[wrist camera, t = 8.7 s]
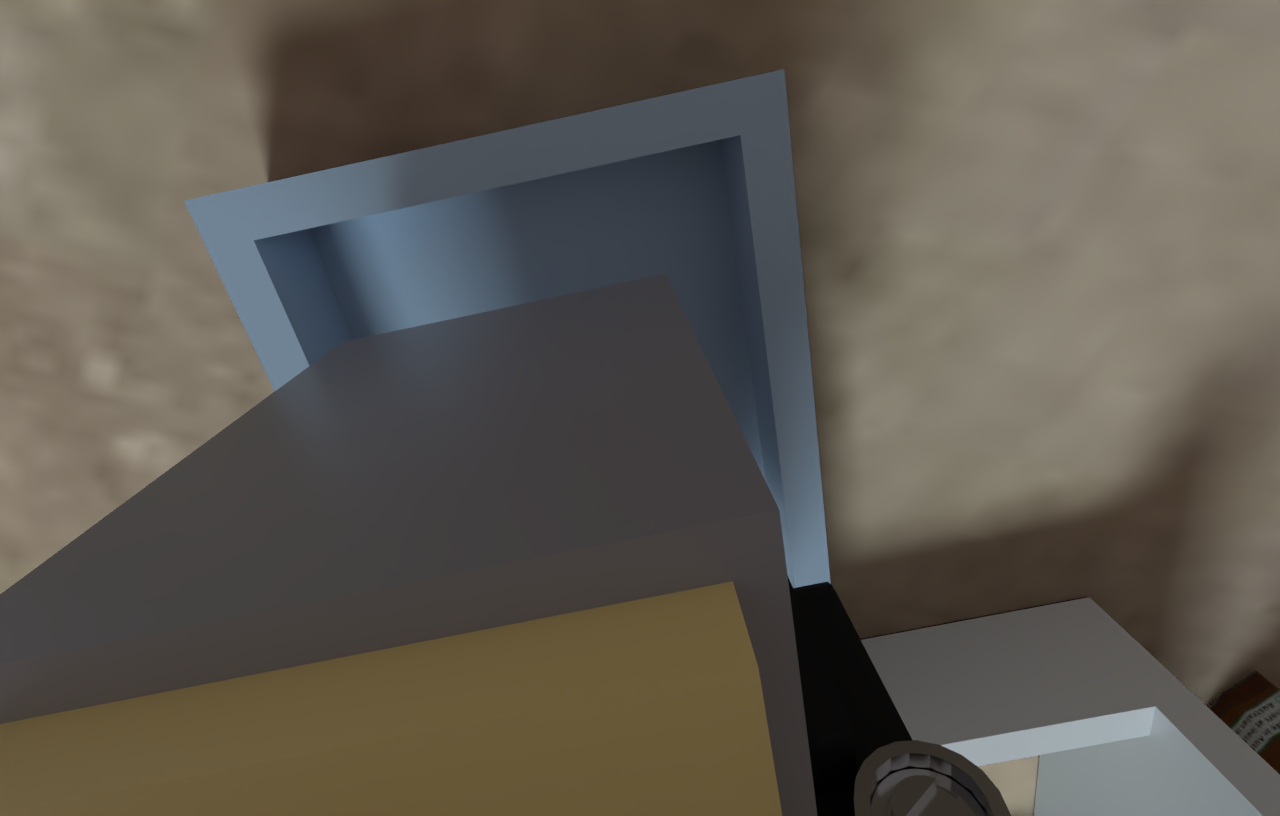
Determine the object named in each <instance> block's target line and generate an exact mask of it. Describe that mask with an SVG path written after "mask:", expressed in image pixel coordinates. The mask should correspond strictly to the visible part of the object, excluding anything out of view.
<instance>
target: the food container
mask: <svg viewBox="0 0 1280 816" xmlns="http://www.w3.org/2000/svg"><path fill="white" fill-rule="evenodd" d="M1209 709H1210V710H1211V711H1212V712H1213V713H1214V714H1215V715H1216V716H1218V717H1219V718H1220V719H1221V720H1222V721H1223V722H1224V723H1225V724H1226V725H1227V726H1228V727H1229V728H1230V729H1231V730H1233V731H1234V732H1235V733H1236V734H1237V735H1238V736H1239V737H1240V738H1241V739H1242V740H1243V741H1244V742H1245V743H1247V744H1248V745H1249V746H1250V747H1251V748H1252V749H1253V750H1254V751H1255V752H1256V753H1257V754H1258V755H1259V756H1260V757H1262V758H1263V759H1264V760H1265V761H1266V762H1267V763H1268V764H1269V765H1270V766H1271V767H1272V768H1273V769H1274V770H1275V771H1277V772H1278V773H1279V774H1280V689H1278V688H1277V687H1276V686H1275V685H1273V684H1272V683H1271V682H1270V681H1268V680H1267V679H1266V678H1265V677H1263V676H1262V675H1261V674H1260V673H1258V672H1257V671H1255V672H1254V673H1253V674H1251V675H1250V676H1248V677H1247V678H1245V679H1244V680H1242V681H1241V682H1239V683H1238V684H1237V685H1235V686H1234V687H1232V688H1231V689H1229V690H1228V691H1226V692H1225V693H1224V694H1223V695H1222V696H1221V697H1220V698H1219V699H1218V700H1216V701H1215V702H1214V703H1213V704H1212V705H1211V706H1210V707H1209Z"/></svg>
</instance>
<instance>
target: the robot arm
mask: <svg viewBox="0 0 1280 816" xmlns="http://www.w3.org/2000/svg"><path fill="white" fill-rule="evenodd" d="M788 583H789V591H790V599H791V607H792V615H793V623H794V631H795V639H796V647H797V655H798V663H799V671H800V679H801V687H802V695H803V703H804V711H805V720H806V728H807V736H808V744H809V752H810V760H811V768H812V776H813V784H814V792H815V800H816V808H817V816H1011V815H1010V812H1009V810H1008V808H1007V806H1006V804H1005V801H1004V799H1003V797H1002V795H1001V793H1000V791H999V790H998V788H997V787H996V786H995V785H994V784H993V782H992V781H991V780H990V779H989V778H988V776H987V775H986V774H985V773H984V772H983V771H982V770H981V769H980V768H979V767H977V766H976V765H975V764H973V763H972V762H971V761H969V760H968V759H967V758H965V757H964V756H963V755H961V754H959V753H957V752H954V751H952V750H950V749H948V748H946V747H943V746H941V745H938V744H933V743H928V742H923V741H918V740H912V738H911V736H910V734H909V732H908V730H907V728H906V726H905V724H904V723H903V721H902V719H901V717H900V715H899V713H898V711H897V709H896V707H895V705H894V703H893V701H892V699H891V697H890V696H889V694H888V692H887V690H886V688H885V686H884V684H883V682H882V680H881V678H880V676H879V674H878V672H877V670H876V669H875V667H874V665H873V663H872V661H871V659H870V657H869V655H868V653H867V651H866V649H865V647H864V645H863V643H862V642H861V640H860V638H859V636H858V634H857V632H856V630H855V628H854V626H853V624H852V622H851V620H850V618H849V616H848V615H847V613H846V611H845V609H844V607H843V605H842V603H841V601H840V599H839V597H838V595H837V593H836V592H835V590H834V588H833V587H832V585H831V584H830V583H829V582H823V583H817V584H812V585H807V586H802V587H797V588H793V587H792V584H791V582H790V580H789V577H788Z"/></svg>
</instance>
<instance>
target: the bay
mask: <svg viewBox="0 0 1280 816" xmlns="http://www.w3.org/2000/svg"><path fill="white" fill-rule="evenodd" d="M861 642H862V643H863V645H864V647H865V649H866V651H867V653H868V655H869V657H870V659H871V661H872V663H873V665H874V667H875V669H876V670H877V672H878V674H879V676H880V678H881V680H882V682H883V684H884V686H885V688H886V690H887V692H888V694H889V696H890V697H891V699H892V701H893V703H894V705H895V707H896V709H897V711H898V713H899V715H900V717H901V719H902V721H903V723H904V724H905V726H906V728H907V730H908V732H909V734H910V736H911V738H912V740H918V741H923V742H928V743H933V744H938V745H941V746H943V747H946V748H948V749H950V750H952V751H954V752H957V753H959V754H961V755H963V756H964V757H965V758H967V759H968V760H969V761H971V762H972V763H973V764H975V765H976V766H981V765H986V764H992V763H998V762H1003V761H1009V760H1014V759H1020V758H1026V757H1031V756H1037V755H1040V757H1039V767H1038V777H1037V787H1036V797H1035V807H1034V816H1280V774H1279V773H1278V772H1277V771H1275V770H1274V769H1273V768H1272V767H1271V766H1270V765H1269V764H1268V763H1267V762H1266V761H1265V760H1264V759H1263V758H1262V757H1260V756H1259V755H1258V754H1257V753H1256V752H1255V751H1254V750H1253V749H1252V748H1251V747H1250V746H1249V745H1248V744H1247V743H1245V742H1244V741H1243V740H1242V739H1241V738H1240V737H1239V736H1238V735H1237V734H1236V733H1235V732H1234V731H1233V730H1231V729H1230V728H1229V727H1228V726H1227V725H1226V724H1225V723H1224V722H1223V721H1222V720H1221V719H1220V718H1219V717H1218V716H1216V715H1215V714H1214V713H1213V712H1212V711H1211V710H1210V709H1209V708H1208V707H1207V706H1206V705H1205V704H1204V703H1203V702H1201V701H1200V700H1199V699H1198V698H1197V697H1196V696H1195V695H1194V694H1193V693H1192V692H1191V691H1190V690H1189V689H1188V688H1186V687H1185V686H1184V685H1183V684H1182V683H1181V682H1180V681H1179V680H1178V679H1177V678H1176V677H1175V676H1174V675H1173V674H1171V673H1170V672H1169V671H1168V670H1167V669H1166V668H1165V667H1164V666H1163V665H1162V664H1161V663H1160V662H1159V661H1157V660H1156V659H1155V658H1154V657H1153V656H1152V655H1151V654H1150V653H1149V652H1148V651H1147V650H1146V649H1145V648H1144V647H1142V646H1141V645H1140V644H1139V643H1138V642H1137V641H1136V640H1135V639H1134V638H1133V637H1132V636H1131V635H1130V634H1129V633H1127V632H1126V631H1125V630H1124V629H1123V628H1122V627H1121V626H1120V625H1119V624H1118V623H1117V622H1116V621H1115V620H1114V619H1112V618H1111V617H1110V616H1109V615H1108V614H1107V613H1106V612H1105V611H1104V610H1103V609H1102V608H1101V607H1100V606H1098V605H1097V604H1096V603H1095V602H1094V601H1093V600H1092V599H1091V598H1090V597H1088V598H1083V599H1077V600H1072V601H1066V602H1061V603H1056V604H1050V605H1045V606H1040V607H1034V608H1029V609H1024V610H1018V611H1013V612H1008V613H1002V614H997V615H992V616H986V617H981V618H976V619H970V620H965V621H960V622H954V623H949V624H944V625H938V626H933V627H928V628H922V629H917V630H911V631H906V632H901V633H895V634H890V635H885V636H879V637H874V638H869V639H863V640H861Z"/></svg>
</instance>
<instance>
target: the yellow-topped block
mask: <svg viewBox="0 0 1280 816" xmlns="http://www.w3.org/2000/svg"><path fill="white" fill-rule="evenodd" d="M0 816H817V808H816V800H815V792H814V784H813V776H812V768H811V760H810V752H809V744H808V736H807V728H806V720H805V711H804V703H803V695H802V687H801V679H800V671H799V663H798V655H797V647H796V639H795V631H794V623H793V615H792V607H791V599H790V591H789V583H788V575H787V567H786V559H785V551H784V543H783V535H782V527H781V519H780V511H779V508H778V506H777V504H776V502H775V500H774V498H773V496H772V493H771V491H770V489H769V487H768V485H767V483H766V481H765V479H764V477H763V475H762V473H761V471H760V469H759V467H758V464H757V462H756V460H755V458H754V456H753V454H752V452H751V450H750V448H749V446H748V444H747V442H746V440H745V438H744V435H743V433H742V431H741V429H740V427H739V425H738V423H737V421H736V419H735V417H734V415H733V413H732V411H731V409H730V406H729V404H728V402H727V400H726V398H725V396H724V394H723V392H722V390H721V388H720V386H719V384H718V382H717V380H716V377H715V375H714V373H713V371H712V369H711V367H710V365H709V363H708V361H707V359H706V357H705V355H704V353H703V351H702V348H701V346H700V344H699V342H698V340H697V338H696V336H695V334H694V332H693V330H692V328H691V326H690V324H689V322H688V319H687V317H686V315H685V313H684V311H683V309H682V307H681V305H680V303H679V301H678V299H677V297H676V295H675V293H674V290H673V288H672V286H671V284H670V282H669V280H668V278H667V276H666V274H663V275H658V276H653V277H648V278H644V279H639V280H634V281H629V282H625V283H620V284H615V285H610V286H606V287H601V288H596V289H591V290H587V291H582V292H577V293H573V294H568V295H563V296H558V297H554V298H549V299H544V300H539V301H535V302H530V303H525V304H520V305H516V306H511V307H506V308H501V309H497V310H492V311H487V312H482V313H478V314H473V315H468V316H463V317H459V318H454V319H449V320H444V321H440V322H435V323H430V324H425V325H421V326H416V327H411V328H406V329H402V330H397V331H392V332H387V333H383V334H378V335H373V336H368V337H364V338H359V339H354V340H349V341H345V342H341V343H340V344H339V345H337V346H336V347H334V348H333V349H332V350H330V351H329V352H328V353H326V354H325V355H324V356H322V357H321V358H320V359H318V360H317V361H316V362H314V363H313V364H311V365H310V366H309V367H307V368H306V369H305V370H303V371H302V372H301V373H299V374H298V375H297V376H295V377H294V378H293V379H291V380H290V381H288V382H287V383H286V384H284V385H283V386H282V387H280V388H279V389H278V390H276V391H275V392H274V393H272V394H271V395H270V396H268V397H267V398H265V399H264V400H263V401H261V402H260V403H259V404H257V405H256V406H255V407H253V408H252V409H251V410H249V411H248V412H247V413H245V414H244V415H242V416H241V417H240V418H238V419H237V420H236V421H234V422H233V423H232V424H230V425H229V426H228V427H226V428H225V429H224V430H222V431H221V432H219V433H218V434H217V435H215V436H214V437H213V438H211V439H210V440H209V441H207V442H206V443H205V444H203V445H202V446H201V447H199V448H198V449H196V450H195V451H194V452H192V453H191V454H190V455H188V456H187V457H186V458H184V459H183V460H182V461H180V462H179V463H178V464H176V465H175V466H173V467H172V468H171V469H169V470H168V471H167V472H165V473H164V474H163V475H161V476H160V477H159V478H157V479H156V480H155V481H153V482H152V483H150V484H149V485H148V486H146V487H145V488H144V489H142V490H141V491H140V492H138V493H137V494H136V495H134V496H133V497H132V498H130V499H129V500H127V501H126V502H125V503H123V504H122V505H121V506H119V507H118V508H117V509H115V510H114V511H113V512H111V513H110V514H109V515H107V516H106V517H104V518H103V519H102V520H100V521H99V522H98V523H96V524H95V525H94V526H92V527H91V528H90V529H88V530H87V531H86V532H84V533H83V534H81V535H80V536H79V537H77V538H76V539H75V540H73V541H72V542H71V543H69V544H68V545H67V546H65V547H64V548H63V549H61V550H60V551H58V552H57V553H56V554H54V555H53V556H52V557H50V558H49V559H48V560H46V561H45V562H44V563H42V564H41V565H40V566H38V567H37V568H35V569H34V570H33V571H31V572H30V573H29V574H27V575H26V576H25V577H23V578H22V579H21V580H19V581H18V582H17V583H15V584H14V585H12V586H11V587H10V588H8V589H7V590H6V591H4V592H3V593H2V594H0Z"/></svg>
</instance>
